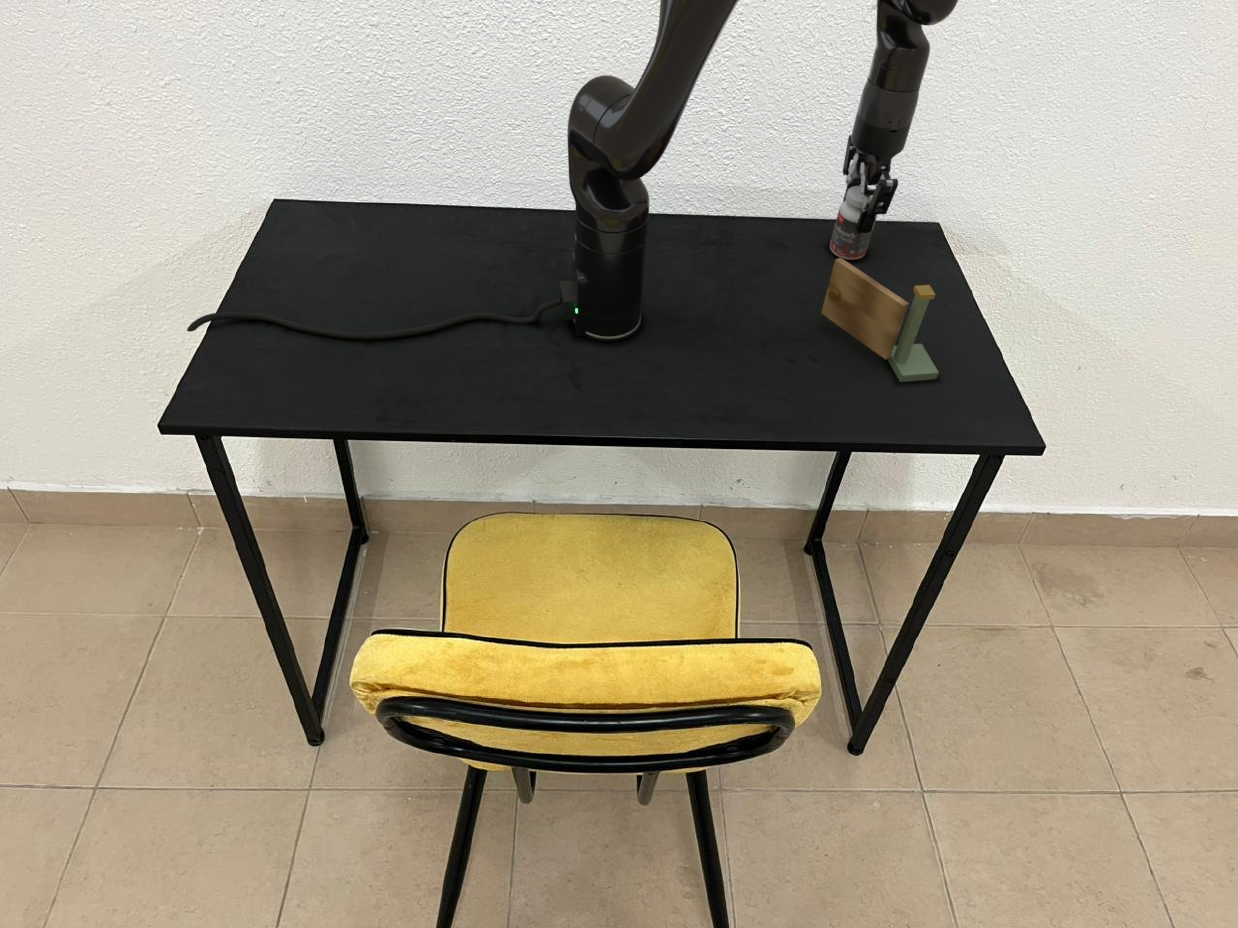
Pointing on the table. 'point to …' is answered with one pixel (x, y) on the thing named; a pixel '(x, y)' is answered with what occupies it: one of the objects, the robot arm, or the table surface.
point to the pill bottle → (850, 228)
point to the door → (864, 308)
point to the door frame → (911, 357)
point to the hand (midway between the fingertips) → (856, 219)
